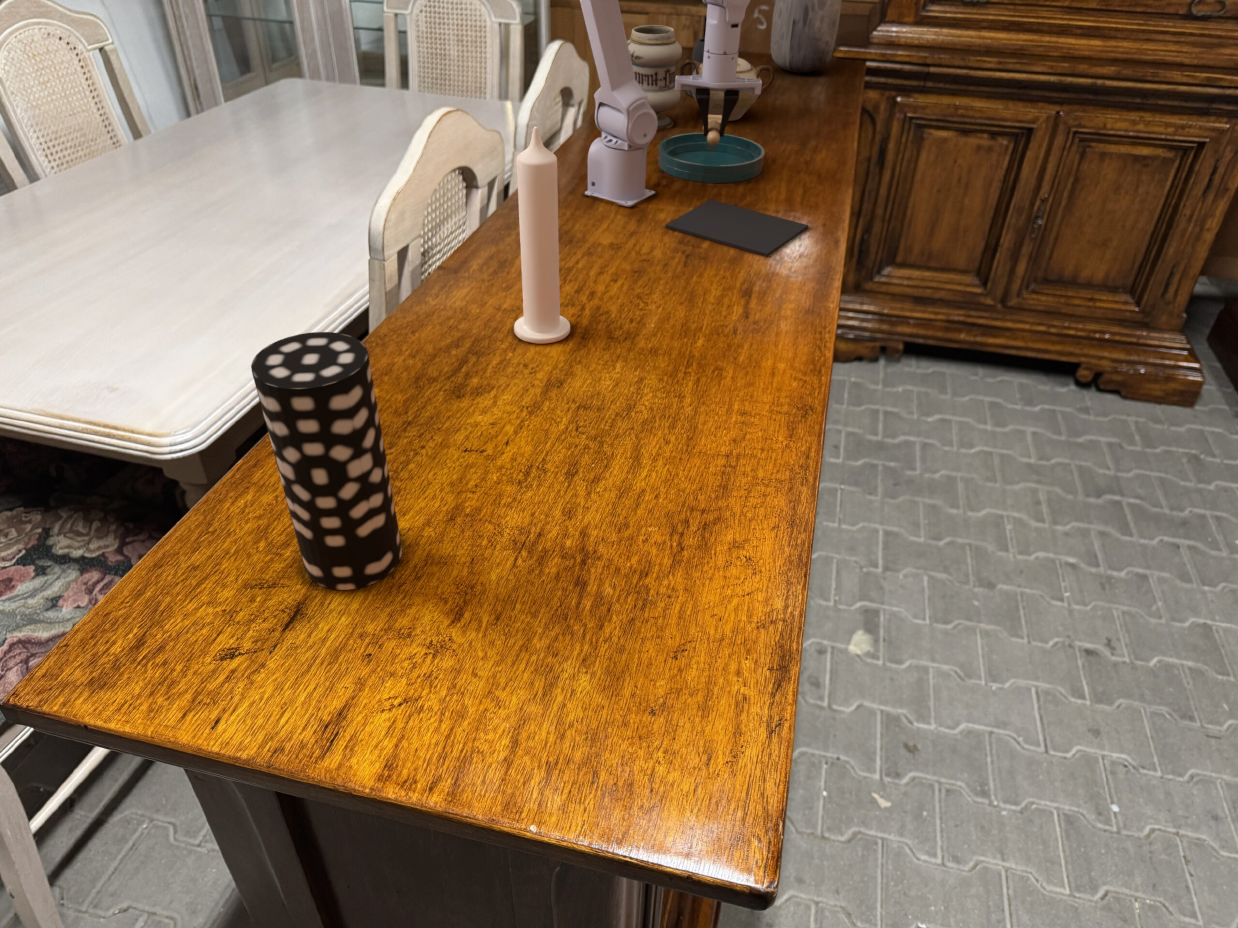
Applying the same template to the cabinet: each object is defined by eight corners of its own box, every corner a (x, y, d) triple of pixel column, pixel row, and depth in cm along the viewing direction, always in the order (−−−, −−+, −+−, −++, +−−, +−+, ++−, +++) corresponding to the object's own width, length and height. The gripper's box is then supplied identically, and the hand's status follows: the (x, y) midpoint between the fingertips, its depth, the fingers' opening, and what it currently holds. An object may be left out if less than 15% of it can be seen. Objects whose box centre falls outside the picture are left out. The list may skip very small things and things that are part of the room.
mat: (665, 227, 138) (665, 224, 138) (710, 202, 147) (710, 199, 147) (767, 257, 130) (767, 253, 130) (808, 228, 139) (808, 225, 139)
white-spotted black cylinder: (314, 526, 80) (265, 333, 68) (406, 523, 81) (375, 330, 69) (295, 592, 73) (238, 390, 61) (396, 587, 74) (359, 387, 62)
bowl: (637, 170, 159) (638, 151, 157) (692, 144, 172) (694, 126, 170) (729, 194, 151) (731, 174, 149) (780, 165, 163) (783, 146, 161)
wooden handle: (702, 123, 163) (703, 111, 161) (723, 124, 163) (724, 112, 161) (701, 146, 152) (703, 133, 150) (723, 148, 151) (725, 135, 150)
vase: (815, 82, 213) (837, -60, 195) (756, 72, 220) (771, -67, 202) (840, 70, 224) (862, -67, 206) (782, 60, 231) (799, -73, 212)
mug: (724, 99, 199) (729, 45, 192) (684, 96, 200) (687, 43, 193) (728, 86, 208) (733, 34, 202) (690, 83, 210) (693, 32, 203)
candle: (527, 349, 107) (517, 140, 92) (505, 324, 112) (493, 121, 97) (579, 337, 109) (579, 132, 94) (556, 313, 114) (552, 114, 99)
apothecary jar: (612, 127, 180) (613, 31, 169) (633, 112, 189) (636, 20, 178) (667, 135, 176) (672, 38, 166) (686, 119, 185) (692, 26, 175)
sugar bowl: (767, 108, 194) (776, 34, 185) (770, 128, 182) (780, 50, 173) (678, 104, 195) (683, 30, 186) (675, 123, 183) (680, 45, 174)
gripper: (764, 48, 148) (754, 130, 156) (678, 43, 149) (673, 126, 157) (765, 57, 142) (755, 142, 151) (676, 53, 143) (671, 138, 151)
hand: (713, 135), depth 153 cm, fingers closed on wooden handle, 2 cm apart
